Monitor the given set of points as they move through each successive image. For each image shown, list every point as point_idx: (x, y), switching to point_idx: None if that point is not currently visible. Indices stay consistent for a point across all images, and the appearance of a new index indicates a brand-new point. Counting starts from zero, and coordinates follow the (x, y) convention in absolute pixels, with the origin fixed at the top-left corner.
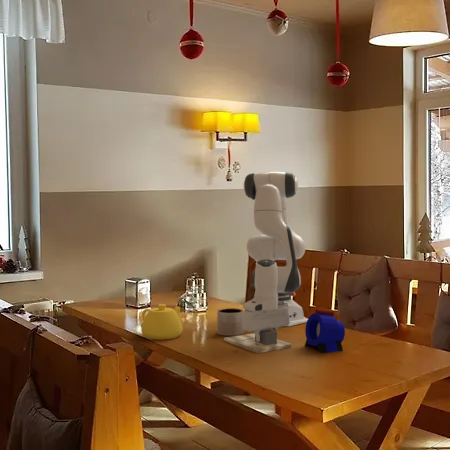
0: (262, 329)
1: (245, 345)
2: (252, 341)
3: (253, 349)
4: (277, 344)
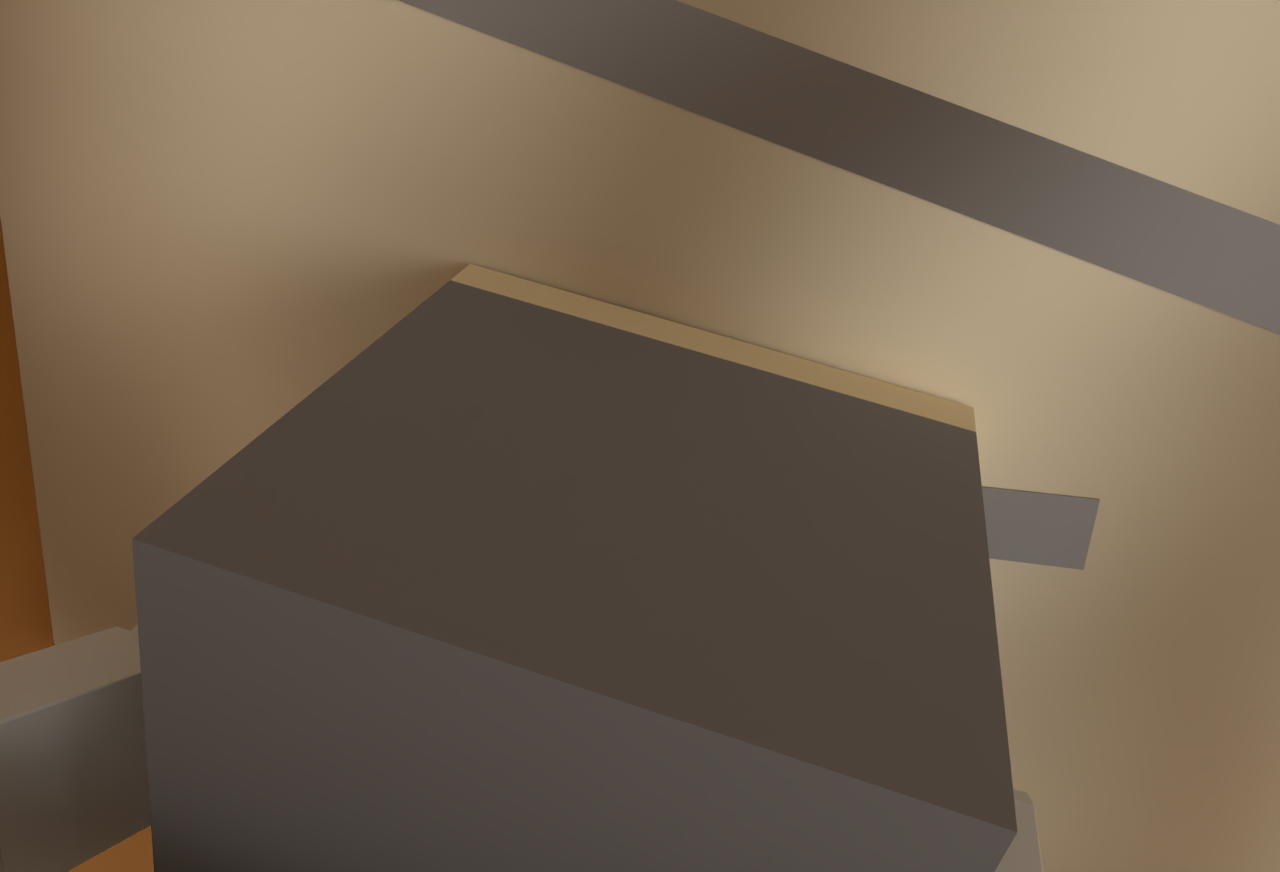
0: (556, 818)
1: (21, 227)
2: (559, 21)
3: (62, 589)
4: None
